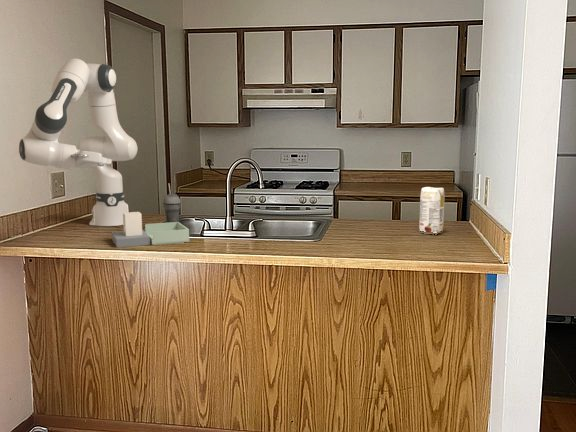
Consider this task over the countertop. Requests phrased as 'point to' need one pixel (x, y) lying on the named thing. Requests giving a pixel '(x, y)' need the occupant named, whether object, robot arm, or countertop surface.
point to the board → (130, 239)
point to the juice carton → (431, 209)
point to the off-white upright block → (132, 223)
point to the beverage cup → (172, 207)
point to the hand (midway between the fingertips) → (107, 163)
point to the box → (167, 233)
